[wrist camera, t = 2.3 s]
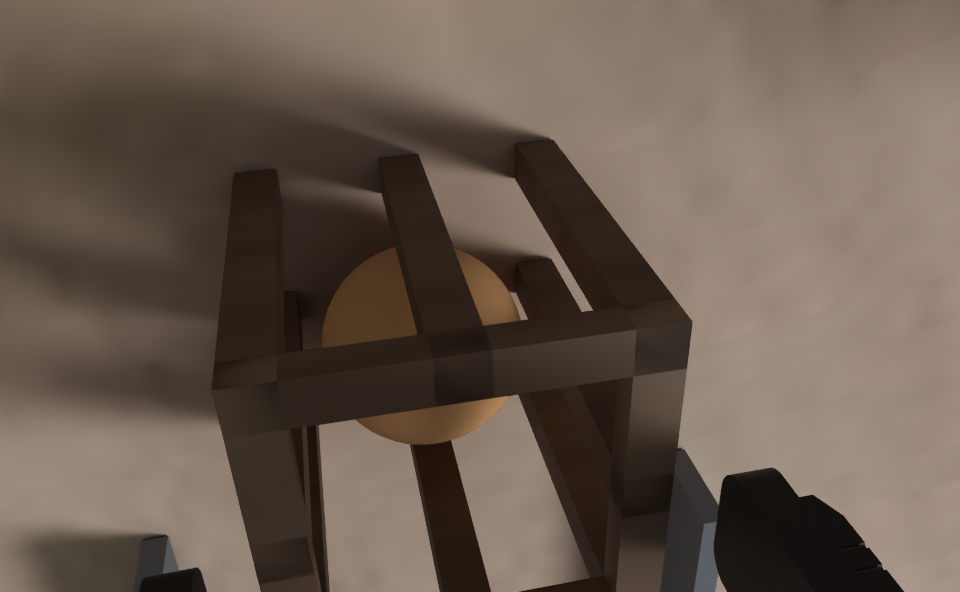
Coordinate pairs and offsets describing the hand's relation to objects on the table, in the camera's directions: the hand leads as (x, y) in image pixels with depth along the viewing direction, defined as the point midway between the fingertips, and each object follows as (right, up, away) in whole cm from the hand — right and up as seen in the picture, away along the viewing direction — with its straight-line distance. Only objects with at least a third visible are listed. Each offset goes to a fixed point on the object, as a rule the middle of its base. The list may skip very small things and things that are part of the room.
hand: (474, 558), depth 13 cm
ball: (-1, +3, +4) cm, 5 cm away
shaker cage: (-1, +4, +6) cm, 7 cm away
